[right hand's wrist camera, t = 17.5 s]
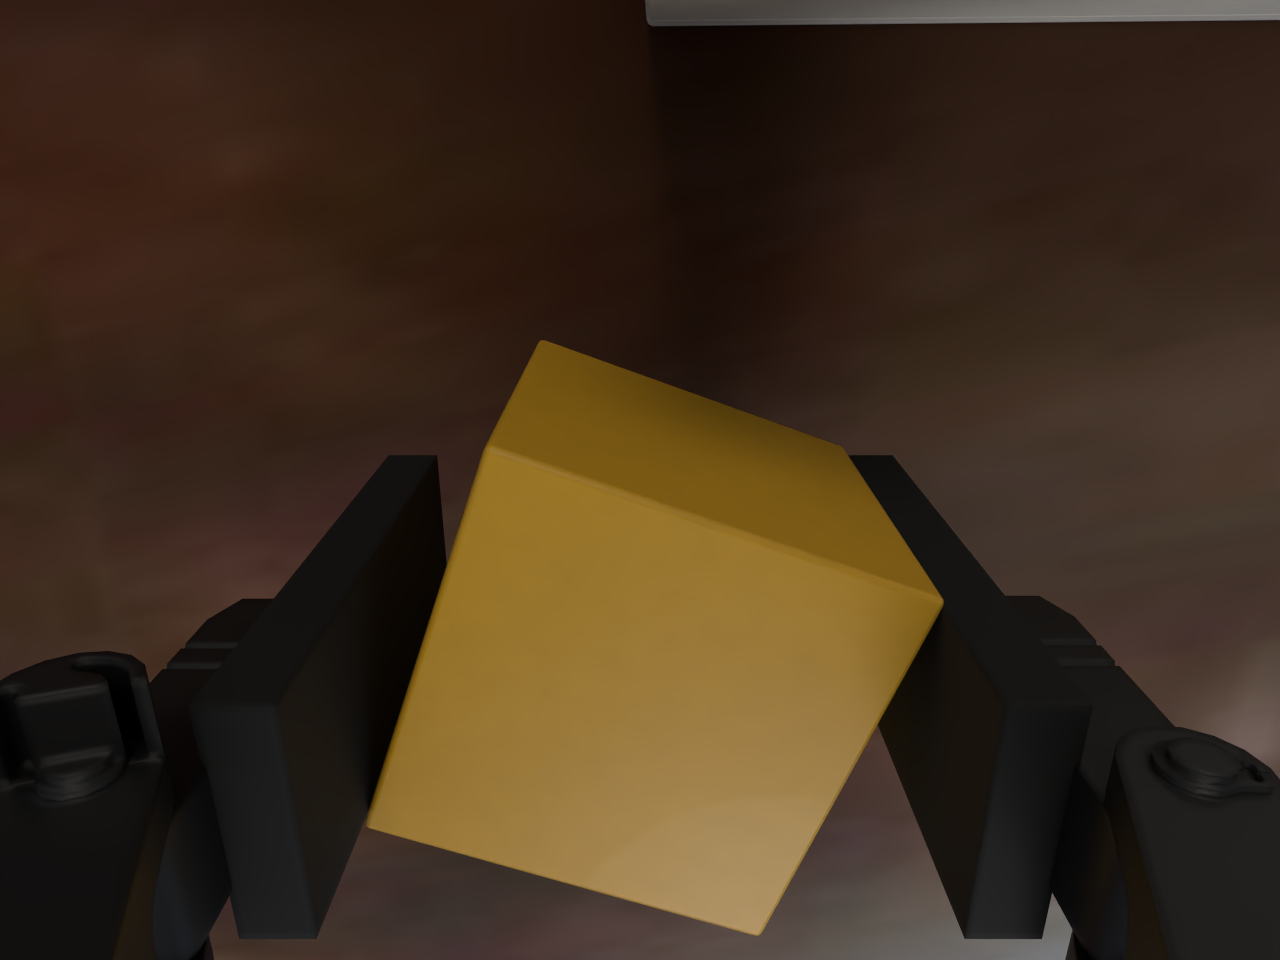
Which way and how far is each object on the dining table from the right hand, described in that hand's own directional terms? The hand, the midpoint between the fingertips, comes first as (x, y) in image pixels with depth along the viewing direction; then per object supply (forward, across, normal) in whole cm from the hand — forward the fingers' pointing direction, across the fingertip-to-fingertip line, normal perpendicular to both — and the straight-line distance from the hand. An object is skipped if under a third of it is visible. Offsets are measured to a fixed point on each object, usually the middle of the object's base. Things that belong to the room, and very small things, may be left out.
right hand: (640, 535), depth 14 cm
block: (0, 0, 0) cm, 0 cm away
